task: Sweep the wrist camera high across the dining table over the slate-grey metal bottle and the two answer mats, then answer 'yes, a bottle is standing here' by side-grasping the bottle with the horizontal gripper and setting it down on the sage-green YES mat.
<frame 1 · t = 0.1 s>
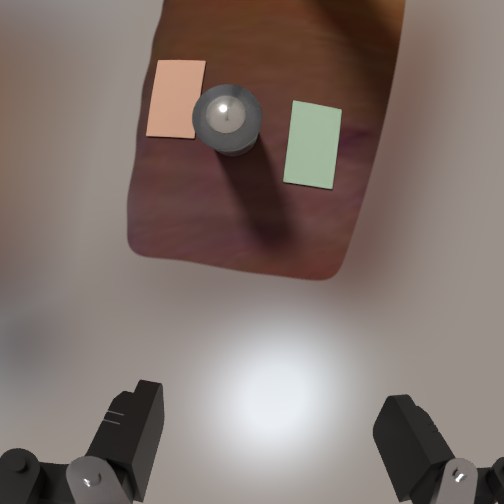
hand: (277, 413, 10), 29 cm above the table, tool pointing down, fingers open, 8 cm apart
bottle: (233, 133, 35), on the table
yes mat: (313, 144, 35), on the table
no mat: (175, 97, 33), on the table
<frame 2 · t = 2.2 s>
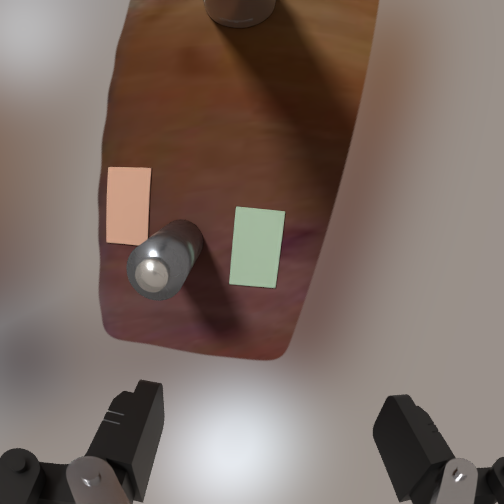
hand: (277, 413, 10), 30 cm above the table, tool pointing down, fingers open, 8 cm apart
bottle: (181, 241, 39), on the table
yes mat: (256, 248, 39), on the table
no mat: (127, 206, 38), on the table
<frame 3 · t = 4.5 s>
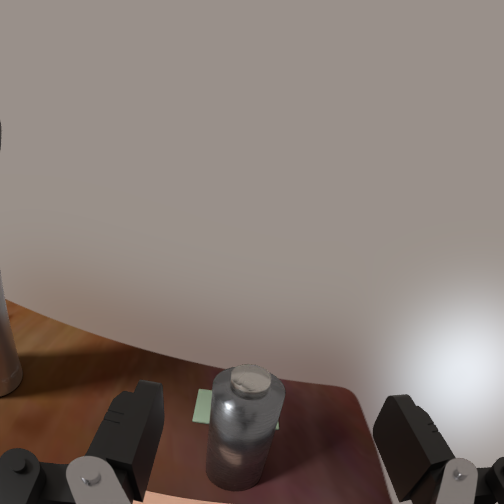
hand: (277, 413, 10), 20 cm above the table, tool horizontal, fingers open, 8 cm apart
bottle: (233, 469, 25), on the table
yes mat: (236, 409, 35), on the table
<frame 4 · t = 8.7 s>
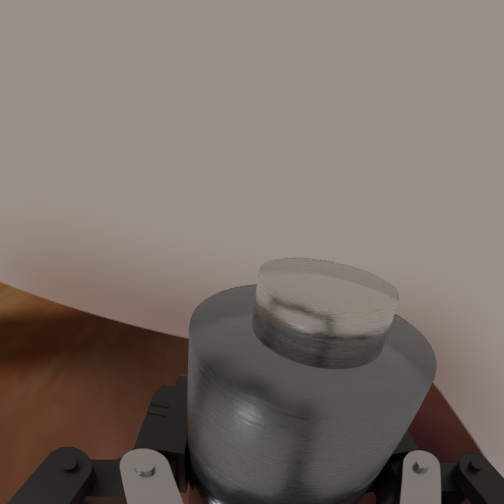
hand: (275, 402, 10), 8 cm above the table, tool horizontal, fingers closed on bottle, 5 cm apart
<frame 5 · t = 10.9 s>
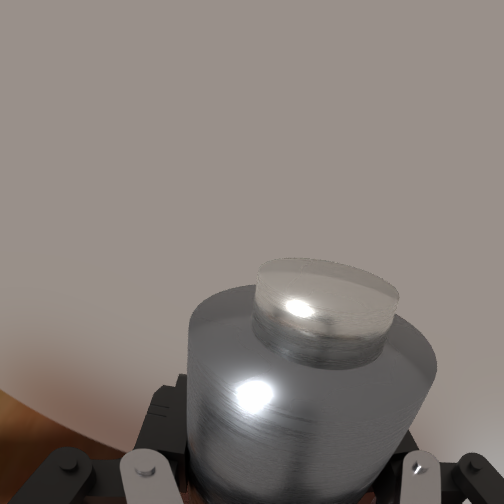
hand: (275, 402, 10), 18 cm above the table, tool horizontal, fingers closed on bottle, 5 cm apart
when the fingers open (9 cm above the table, at t = 13.4 s): bottle stays where it is, resting on yes mat.
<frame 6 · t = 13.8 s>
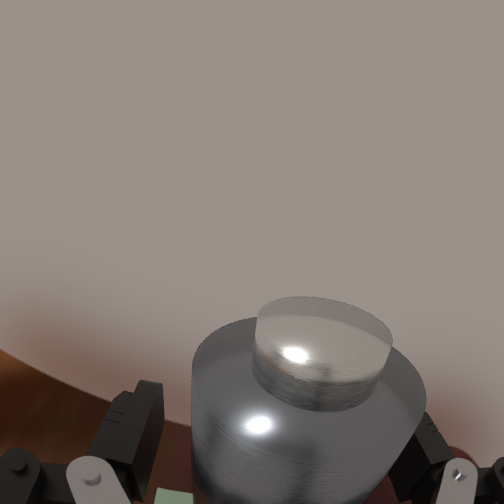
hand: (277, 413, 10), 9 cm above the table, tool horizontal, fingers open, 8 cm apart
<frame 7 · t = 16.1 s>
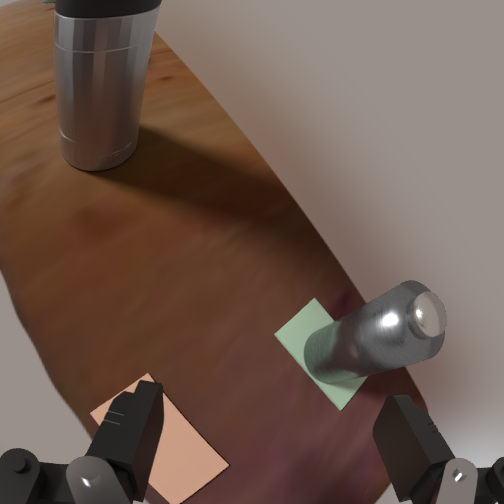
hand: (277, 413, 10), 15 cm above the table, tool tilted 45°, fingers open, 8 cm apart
bottle: (329, 355, 28), resting on yes mat
yes mat: (327, 354, 28), on the table
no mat: (159, 443, 20), on the table
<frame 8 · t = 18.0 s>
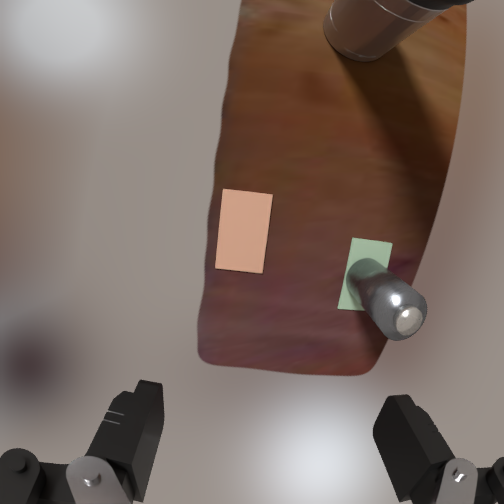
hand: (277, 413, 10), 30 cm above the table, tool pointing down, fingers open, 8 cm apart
bottle: (364, 277, 40), resting on yes mat
yes mat: (365, 276, 40), on the table
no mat: (243, 231, 39), on the table
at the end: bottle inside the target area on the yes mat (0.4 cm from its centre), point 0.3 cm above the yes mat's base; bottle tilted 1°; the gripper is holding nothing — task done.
